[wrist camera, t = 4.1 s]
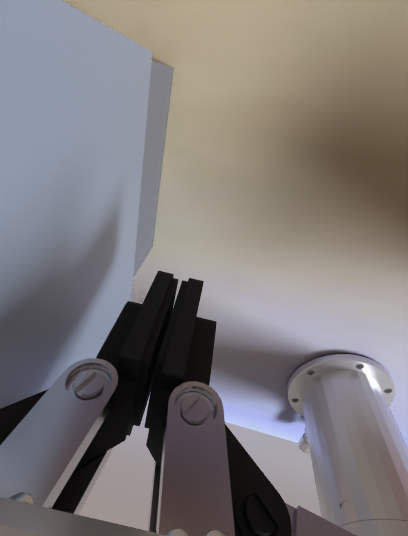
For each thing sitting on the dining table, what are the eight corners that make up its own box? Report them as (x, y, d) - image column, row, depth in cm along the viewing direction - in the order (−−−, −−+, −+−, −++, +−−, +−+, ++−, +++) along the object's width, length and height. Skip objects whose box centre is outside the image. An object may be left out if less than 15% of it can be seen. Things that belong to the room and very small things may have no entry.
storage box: (152, 246, 31) (116, 303, 23) (23, 216, 32) (-60, 262, 23) (173, 67, 23) (130, 51, 15) (-1, 28, 23) (-144, -11, 15)
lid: (117, 307, 23) (130, 309, 23) (8, 550, 11) (36, 553, 11) (131, 46, 14) (152, 51, 14) (-278, -154, 2) (-148, -118, 3)
